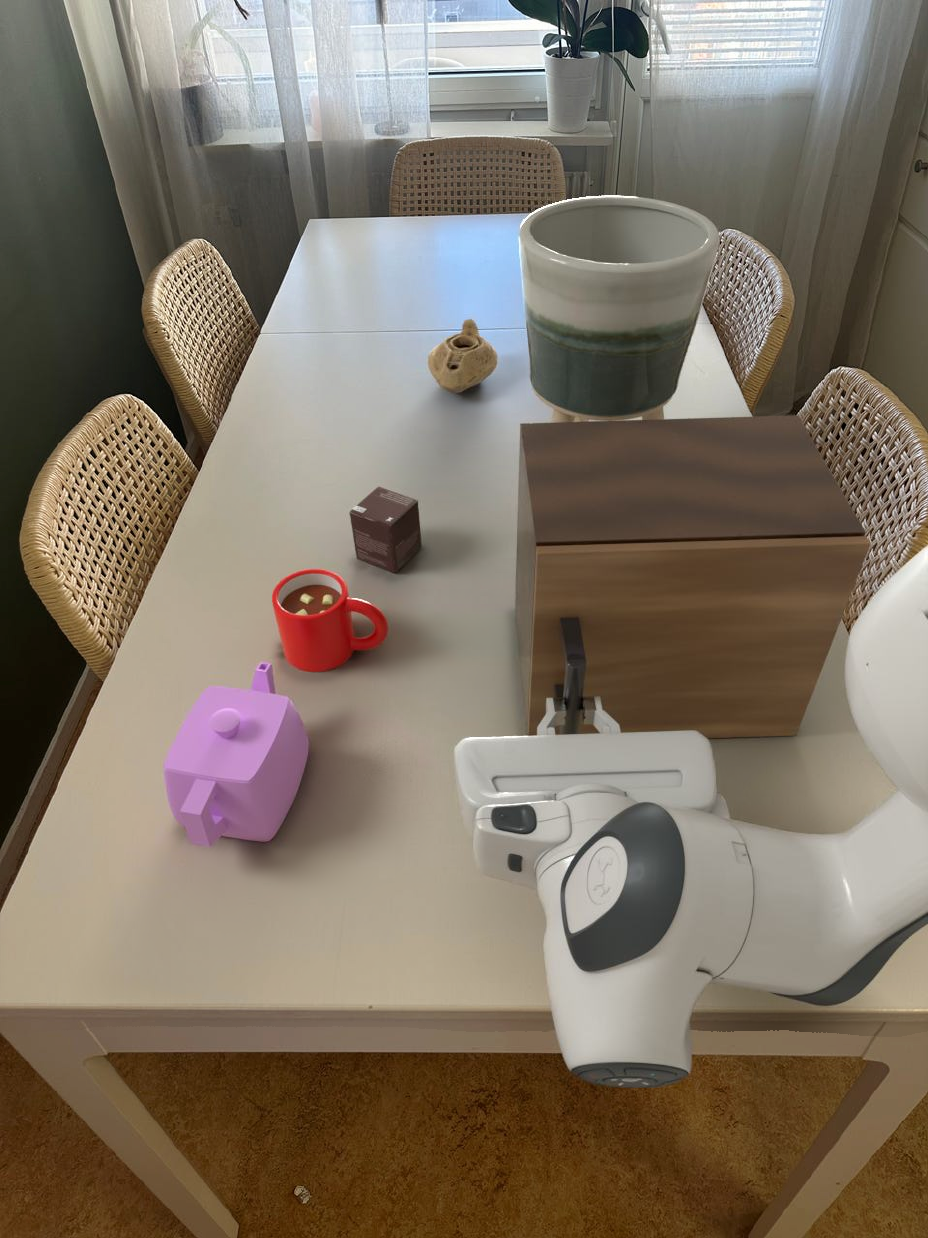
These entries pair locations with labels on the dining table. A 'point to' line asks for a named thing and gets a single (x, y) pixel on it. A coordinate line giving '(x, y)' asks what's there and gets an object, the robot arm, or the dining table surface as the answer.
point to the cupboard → (667, 490)
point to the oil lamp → (462, 359)
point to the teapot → (236, 762)
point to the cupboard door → (688, 631)
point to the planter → (612, 302)
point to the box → (386, 529)
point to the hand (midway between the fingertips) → (572, 701)
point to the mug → (321, 620)
